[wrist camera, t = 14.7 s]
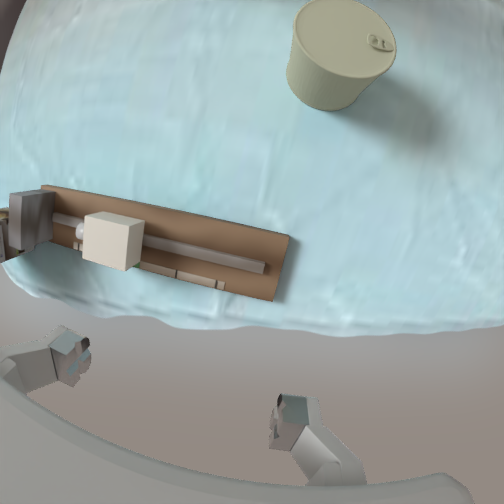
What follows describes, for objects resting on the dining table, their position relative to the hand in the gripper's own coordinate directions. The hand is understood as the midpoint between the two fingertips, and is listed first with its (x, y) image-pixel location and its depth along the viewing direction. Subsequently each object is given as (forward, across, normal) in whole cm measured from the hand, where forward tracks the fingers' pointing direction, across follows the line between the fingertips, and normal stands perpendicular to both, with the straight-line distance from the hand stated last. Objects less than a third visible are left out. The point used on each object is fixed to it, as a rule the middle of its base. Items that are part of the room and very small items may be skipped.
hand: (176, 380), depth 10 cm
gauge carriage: (+22, +15, +3) cm, 27 cm away
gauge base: (+24, +13, +2) cm, 28 cm away
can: (+25, -5, -22) cm, 34 cm away
